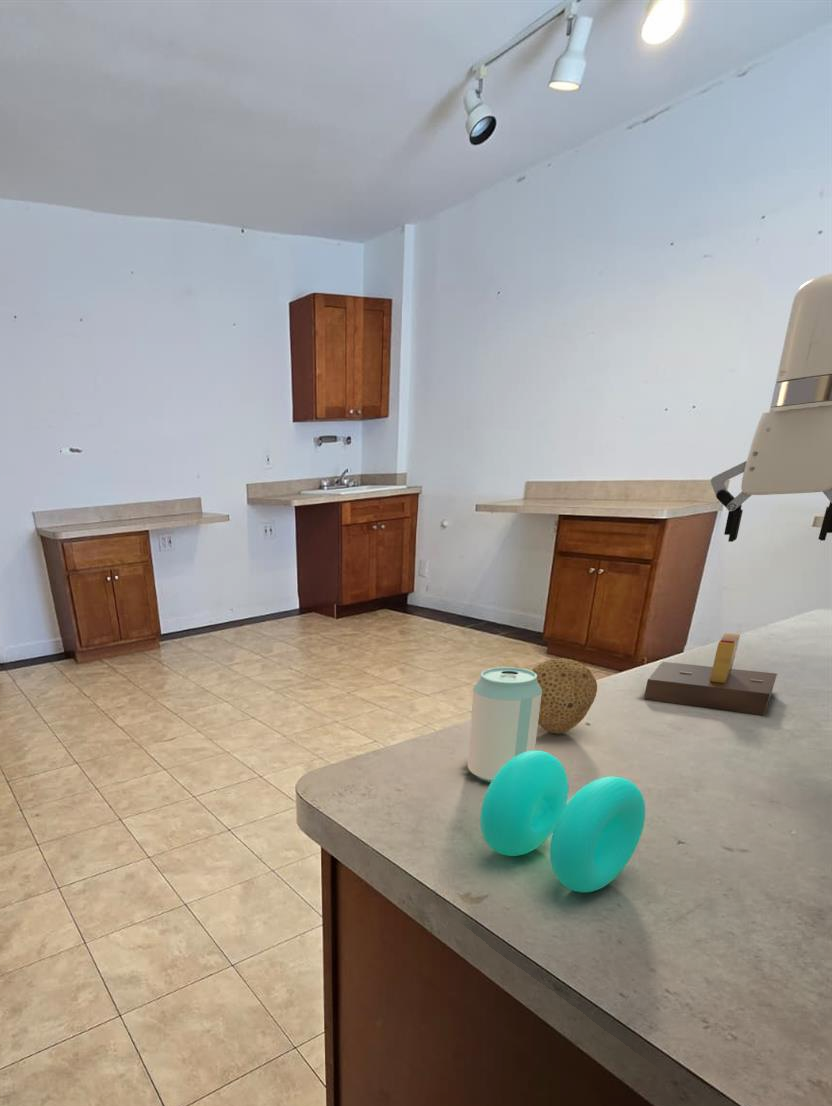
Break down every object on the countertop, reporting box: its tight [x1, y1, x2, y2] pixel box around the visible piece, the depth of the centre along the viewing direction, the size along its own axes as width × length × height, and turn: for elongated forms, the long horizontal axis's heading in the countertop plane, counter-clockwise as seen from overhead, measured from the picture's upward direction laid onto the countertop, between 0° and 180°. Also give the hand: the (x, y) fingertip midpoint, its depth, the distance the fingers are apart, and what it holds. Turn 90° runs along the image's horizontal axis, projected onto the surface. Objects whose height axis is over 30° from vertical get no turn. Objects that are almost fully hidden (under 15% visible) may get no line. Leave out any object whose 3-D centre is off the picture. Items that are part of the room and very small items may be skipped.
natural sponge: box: [530, 657, 598, 735], centre depth 82 cm, size 9×9×10 cm
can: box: [467, 666, 542, 783], centre depth 72 cm, size 7×7×12 cm
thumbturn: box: [710, 633, 741, 683], centre depth 88 cm, size 6×2×6 cm, turn 140°
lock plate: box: [643, 661, 778, 716], centre depth 91 cm, size 14×10×3 cm
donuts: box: [479, 749, 646, 893], centre depth 55 cm, size 10×10×10 cm
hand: (775, 539), depth 86 cm, fingers open, 9 cm apart
